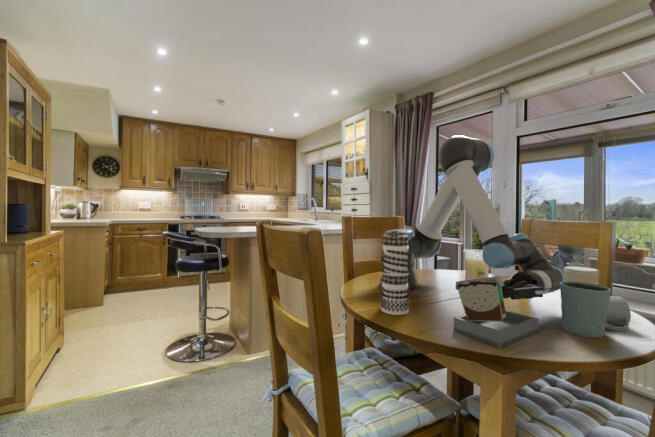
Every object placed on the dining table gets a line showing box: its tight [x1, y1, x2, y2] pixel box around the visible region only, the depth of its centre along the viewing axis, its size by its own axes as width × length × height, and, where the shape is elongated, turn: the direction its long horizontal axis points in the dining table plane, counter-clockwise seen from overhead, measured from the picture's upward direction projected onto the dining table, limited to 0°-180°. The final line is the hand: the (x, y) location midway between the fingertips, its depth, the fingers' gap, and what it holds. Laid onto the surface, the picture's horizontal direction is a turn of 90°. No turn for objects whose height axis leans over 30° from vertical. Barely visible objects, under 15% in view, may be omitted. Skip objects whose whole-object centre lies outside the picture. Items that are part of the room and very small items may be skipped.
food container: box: [455, 276, 506, 322], centre depth 78 cm, size 12×6×10 cm, turn 31°
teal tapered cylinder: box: [559, 281, 612, 339], centre depth 80 cm, size 10×10×12 cm
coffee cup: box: [563, 265, 601, 285], centre depth 104 cm, size 9×9×12 cm
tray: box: [453, 309, 539, 349], centre depth 79 cm, size 12×18×4 cm, turn 123°
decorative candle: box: [380, 229, 411, 316], centre depth 96 cm, size 9×9×25 cm
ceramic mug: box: [605, 295, 632, 332], centre depth 84 cm, size 11×8×8 cm
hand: (484, 295), depth 76 cm, fingers closed
